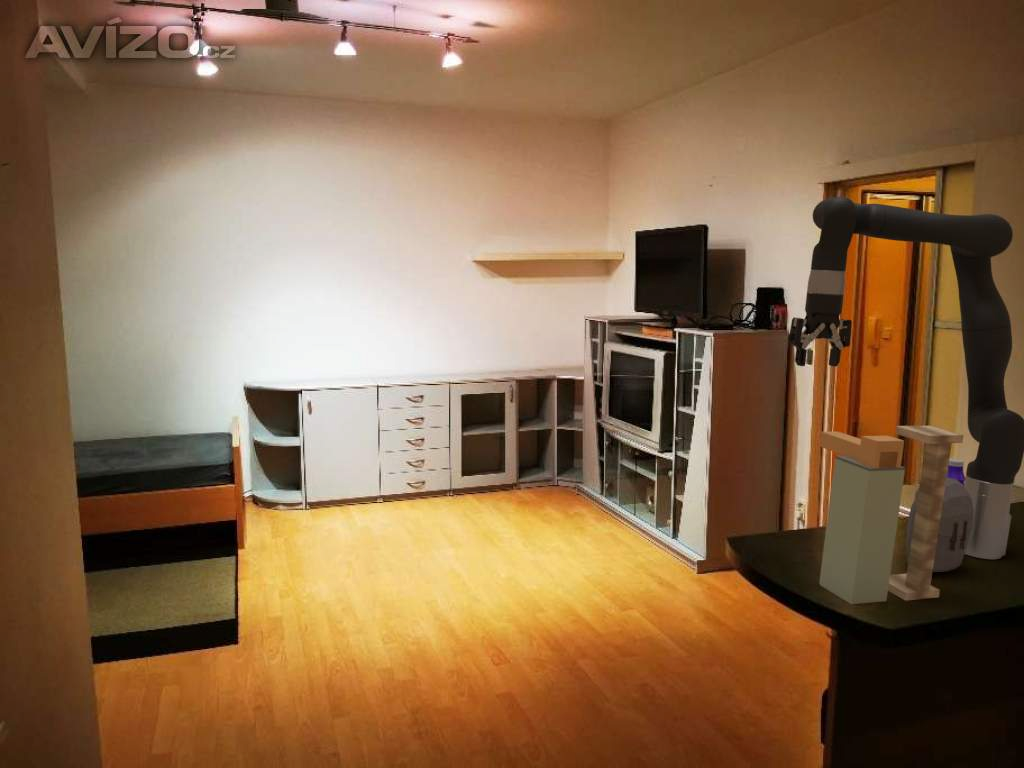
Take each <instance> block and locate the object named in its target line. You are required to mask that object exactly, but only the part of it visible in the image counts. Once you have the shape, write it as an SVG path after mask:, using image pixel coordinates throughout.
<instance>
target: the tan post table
mask: <svg viewBox="0 0 1024 768" xmlns="http://www.w3.org/2000/svg"><path fill="white" fill-rule="evenodd" d="M895 434H896V435H898V436H902V437H905V438H909V439H912V440H914V441H918V442H922V443H924V444H925V446H924V453H923V460H922V466H921V472H920V481H919V487H918V488H919V492H918V499H917V506H916V513H915V520H914V527H913V534H912V541H911V548H910V554H909V561H908V562H907V570H906V573H898V574H890V579H889V586H888V592H889V593H891V594H892V595H895V596H897V597H899V598H900V599H902V600H904V601H905V602H907V601H913V600H914V601H915V600H925V599H936V598H940V593H941V592H940V591H941V590H940V589H939V588H937V587H935V586H933V585H931V583H932V578H933V577H932V576H933V573H934V572H933V565H934V558H935V552H936V545H937V538H938V532H939V525H940V519H941V512H942V505H943V499H944V492H945V485H946V479H947V472H948V465H949V459H950V458H951V451H952V445H953V444H963V442H964V437H965V436H964V434H961V433H958V432H953V431H949V430H947V429H943V428H940V427H935V426H933V425H896V426H895Z"/></svg>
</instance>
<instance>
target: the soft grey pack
mask: <svg viewBox="0 0 1024 768" xmlns="http://www.w3.org/2000/svg"><path fill="white" fill-rule="evenodd" d="M918 492H919V487H918V488H917V490H915V493H914V494H915V495H914V500H913V502H912V504H911V506H910V510H909V515H908V520H907V523H906V531H905V532H906V534H905V537H906V538H905V550H906V551H905V552H906V554H905V555H906V562H907V563H908V561H909V554H910V548H911V541H912V534H913V527H914V520H915V513H916V506H917V499H918ZM972 524H973V506H972V499H971V497H970V494H969V492H968V491H967V489H966V488H965V487H964V485H963V484H961V483H960V482H959V481H957V480H956V479H952V478H948V477H947V479H946V485H945V492H944V499H943V505H942V512H941V519H940V525H939V532H938V538H937V545H936V552H935V558H934V565H933V572H932V573H941V572H942V573H943V572H949V571H953V570H956V569H957V568H958V567H960V566H961V565H962V561H963V559H964V556H965V555H966V554H965V551H966V548H967V544H968V540H969V536H970V532H971V531H972Z"/></svg>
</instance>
